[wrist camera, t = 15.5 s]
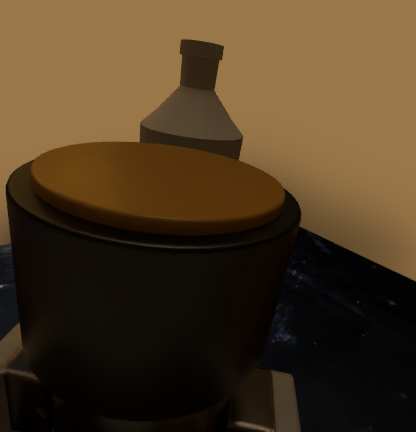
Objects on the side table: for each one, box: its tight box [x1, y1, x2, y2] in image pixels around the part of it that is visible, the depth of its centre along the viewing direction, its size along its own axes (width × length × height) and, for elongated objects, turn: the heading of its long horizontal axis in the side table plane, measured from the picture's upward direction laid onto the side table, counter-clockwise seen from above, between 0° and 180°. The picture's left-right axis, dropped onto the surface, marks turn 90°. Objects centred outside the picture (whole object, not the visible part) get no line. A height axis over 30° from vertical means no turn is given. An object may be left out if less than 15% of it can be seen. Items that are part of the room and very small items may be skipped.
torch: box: [6, 142, 301, 432], centre depth 8 cm, size 5×5×12 cm
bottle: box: [140, 40, 243, 161], centre depth 39 cm, size 12×12×25 cm
